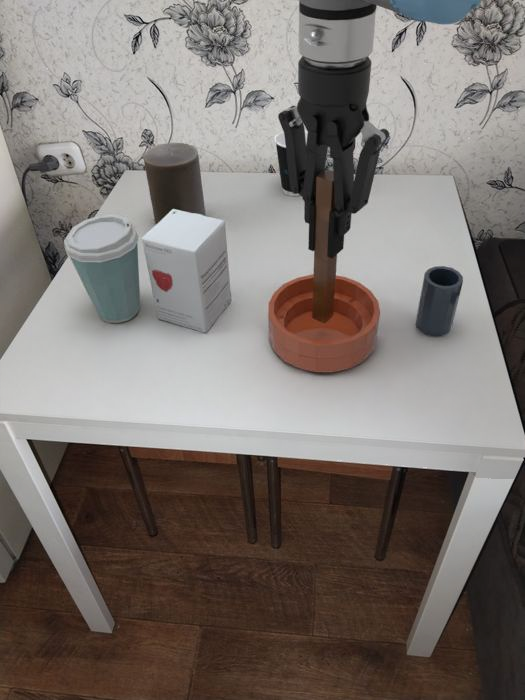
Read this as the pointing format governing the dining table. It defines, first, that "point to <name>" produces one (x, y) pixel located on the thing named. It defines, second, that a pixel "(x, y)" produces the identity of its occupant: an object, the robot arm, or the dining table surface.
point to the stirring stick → (323, 250)
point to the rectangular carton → (188, 269)
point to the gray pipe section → (438, 300)
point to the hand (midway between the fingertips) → (325, 248)
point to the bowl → (323, 325)
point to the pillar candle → (174, 179)
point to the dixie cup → (284, 162)
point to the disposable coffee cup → (107, 264)
